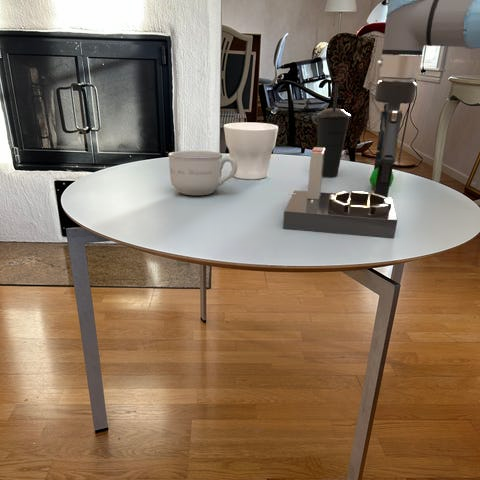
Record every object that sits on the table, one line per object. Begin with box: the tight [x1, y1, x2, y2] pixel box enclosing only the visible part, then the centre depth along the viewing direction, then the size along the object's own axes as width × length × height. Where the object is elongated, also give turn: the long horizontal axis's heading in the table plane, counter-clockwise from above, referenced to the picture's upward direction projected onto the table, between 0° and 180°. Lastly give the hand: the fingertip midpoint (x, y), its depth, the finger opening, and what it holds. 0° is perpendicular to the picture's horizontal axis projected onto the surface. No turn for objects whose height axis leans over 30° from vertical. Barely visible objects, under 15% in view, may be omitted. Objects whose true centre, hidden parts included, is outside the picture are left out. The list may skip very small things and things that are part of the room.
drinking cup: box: [316, 82, 352, 178], centre depth 111 cm, size 8×8×20 cm
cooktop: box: [282, 190, 398, 239], centre depth 85 cm, size 19×16×3 cm
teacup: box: [167, 150, 237, 196], centre depth 97 cm, size 14×11×8 cm
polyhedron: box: [369, 168, 395, 189], centre depth 104 cm, size 5×5×5 cm
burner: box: [329, 190, 391, 217], centre depth 81 cm, size 10×10×2 cm
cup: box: [223, 121, 279, 180], centre depth 111 cm, size 12×12×11 cm
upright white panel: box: [307, 146, 325, 199], centre depth 85 cm, size 5×2×8 cm, turn 167°
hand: (379, 189), depth 105 cm, fingers open, 13 cm apart
